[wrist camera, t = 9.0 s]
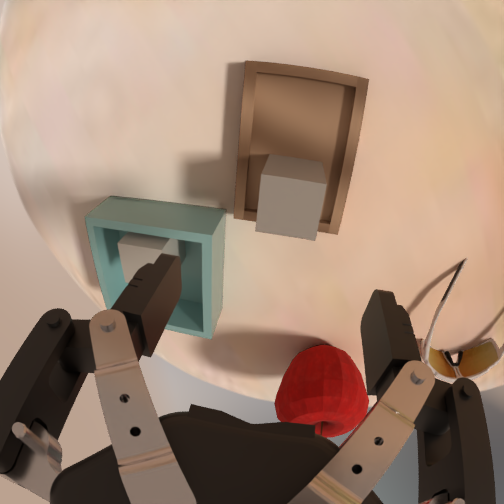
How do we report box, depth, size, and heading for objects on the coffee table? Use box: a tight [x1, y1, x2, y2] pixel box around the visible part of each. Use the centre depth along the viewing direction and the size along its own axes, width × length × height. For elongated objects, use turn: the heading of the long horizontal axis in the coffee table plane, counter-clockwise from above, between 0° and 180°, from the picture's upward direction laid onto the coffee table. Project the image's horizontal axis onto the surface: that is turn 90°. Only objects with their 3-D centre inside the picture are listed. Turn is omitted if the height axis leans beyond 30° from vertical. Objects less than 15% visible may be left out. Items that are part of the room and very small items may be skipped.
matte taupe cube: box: [117, 232, 186, 283], centre depth 26 cm, size 4×4×5 cm
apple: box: [275, 345, 369, 438], centre depth 30 cm, size 10×10×11 cm
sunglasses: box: [421, 258, 504, 382], centre depth 27 cm, size 14×15×5 cm
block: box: [255, 154, 327, 241], centre depth 21 cm, size 4×4×5 cm
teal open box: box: [85, 196, 226, 339], centre depth 28 cm, size 12×12×4 cm
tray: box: [234, 61, 369, 235], centre depth 22 cm, size 13×9×1 cm
